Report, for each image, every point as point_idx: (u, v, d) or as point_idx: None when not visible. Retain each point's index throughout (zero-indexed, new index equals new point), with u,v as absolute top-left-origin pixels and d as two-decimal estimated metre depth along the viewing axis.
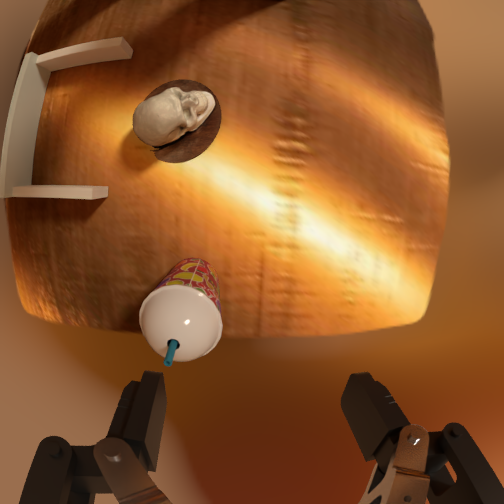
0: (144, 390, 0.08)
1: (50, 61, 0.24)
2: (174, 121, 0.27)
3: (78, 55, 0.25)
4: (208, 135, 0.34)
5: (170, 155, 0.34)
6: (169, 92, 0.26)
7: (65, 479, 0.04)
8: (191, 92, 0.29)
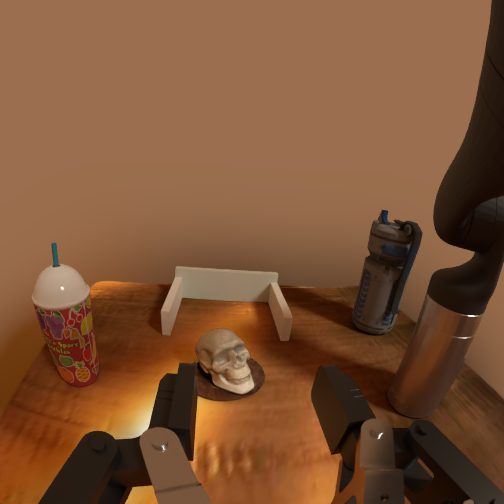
0: (182, 381, 0.09)
1: (272, 291, 0.60)
2: (213, 345, 0.35)
3: (276, 304, 0.55)
4: (209, 393, 0.33)
5: None
6: (240, 341, 0.37)
7: (104, 475, 0.04)
8: (247, 366, 0.36)
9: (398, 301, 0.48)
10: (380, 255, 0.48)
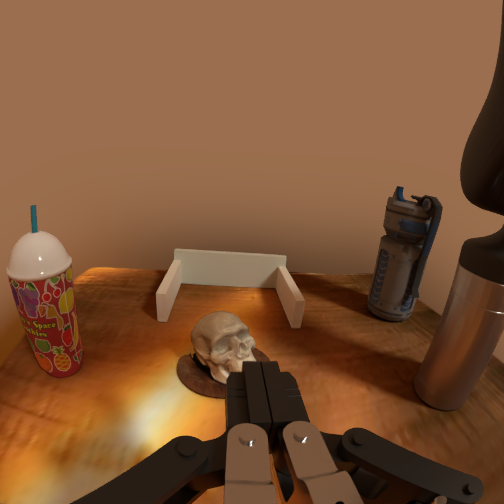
0: (251, 378, 0.10)
1: (280, 275, 0.55)
2: (211, 330, 0.29)
3: (285, 287, 0.50)
4: (207, 390, 0.28)
5: (184, 364, 0.32)
6: (243, 325, 0.31)
7: (182, 480, 0.05)
8: (252, 355, 0.30)
9: (418, 283, 0.42)
10: (398, 232, 0.43)
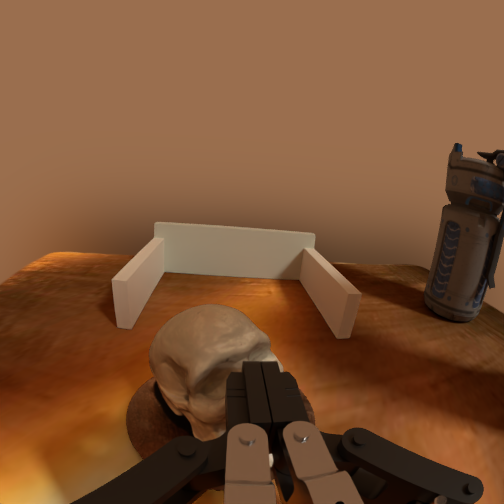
0: (251, 378, 0.10)
1: (308, 259, 0.37)
2: (189, 348, 0.12)
3: (320, 276, 0.32)
4: None
5: (141, 409, 0.14)
6: (260, 334, 0.14)
7: (182, 480, 0.05)
8: None
9: (495, 268, 0.25)
10: (472, 196, 0.25)
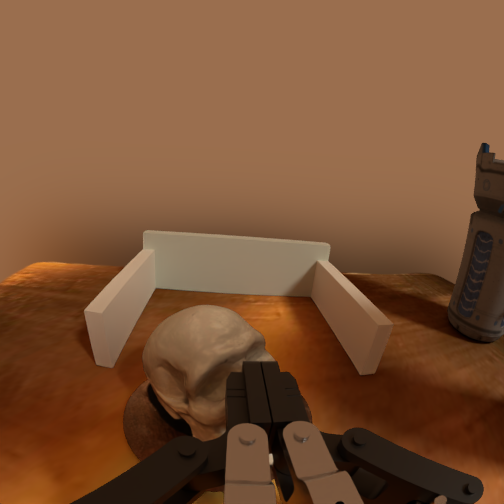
0: (251, 378, 0.10)
1: (323, 274, 0.32)
2: (187, 351, 0.12)
3: (339, 297, 0.26)
4: None
5: (137, 414, 0.14)
6: (256, 333, 0.14)
7: (182, 480, 0.05)
8: None
9: None
10: None
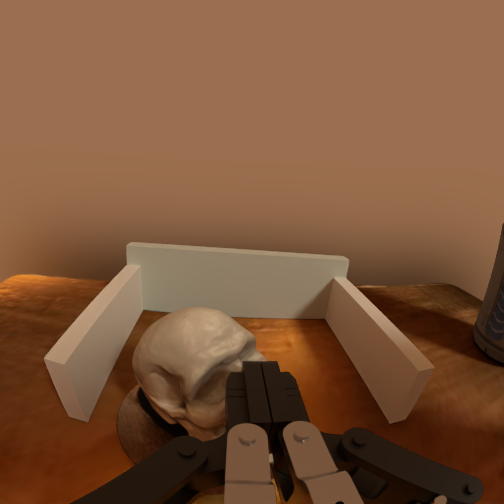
0: (251, 378, 0.10)
1: (341, 295, 0.26)
2: (181, 355, 0.11)
3: (364, 327, 0.21)
4: None
5: (131, 422, 0.13)
6: (247, 333, 0.14)
7: (182, 480, 0.05)
8: None
9: None
10: None
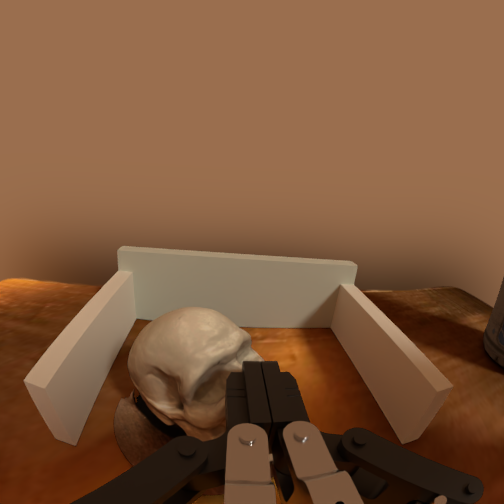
0: (251, 378, 0.10)
1: (349, 304, 0.24)
2: (178, 356, 0.11)
3: (375, 340, 0.19)
4: None
5: (128, 424, 0.13)
6: (243, 332, 0.14)
7: (182, 480, 0.05)
8: None
9: None
10: None
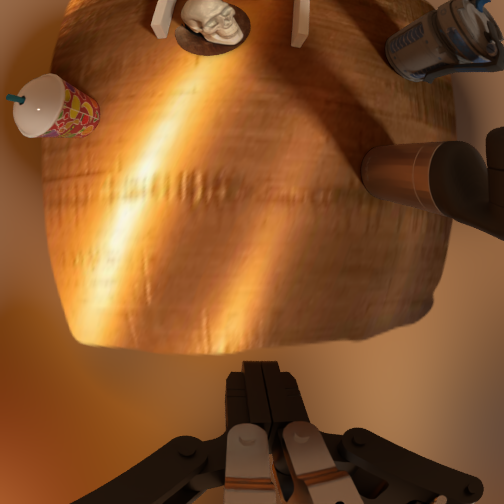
0: (251, 378, 0.10)
1: None
2: (200, 16, 0.26)
3: (298, 2, 0.28)
4: (206, 51, 0.33)
5: (181, 34, 0.32)
6: (224, 4, 0.26)
7: (182, 480, 0.05)
8: (234, 22, 0.29)
9: (437, 76, 0.29)
10: (444, 33, 0.19)
